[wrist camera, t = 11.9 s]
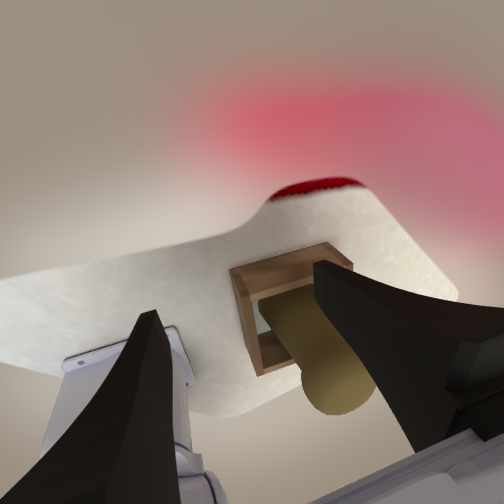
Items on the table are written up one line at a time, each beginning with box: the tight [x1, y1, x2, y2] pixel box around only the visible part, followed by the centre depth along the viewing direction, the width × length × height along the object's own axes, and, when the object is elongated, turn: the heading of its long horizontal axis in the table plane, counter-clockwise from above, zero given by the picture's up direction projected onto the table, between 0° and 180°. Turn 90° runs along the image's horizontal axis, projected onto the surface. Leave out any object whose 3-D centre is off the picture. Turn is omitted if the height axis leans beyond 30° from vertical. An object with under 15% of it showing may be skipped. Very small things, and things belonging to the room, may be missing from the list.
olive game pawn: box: [258, 283, 376, 415], centre depth 23 cm, size 6×6×11 cm
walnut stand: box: [229, 242, 353, 377], centre depth 25 cm, size 9×9×4 cm
